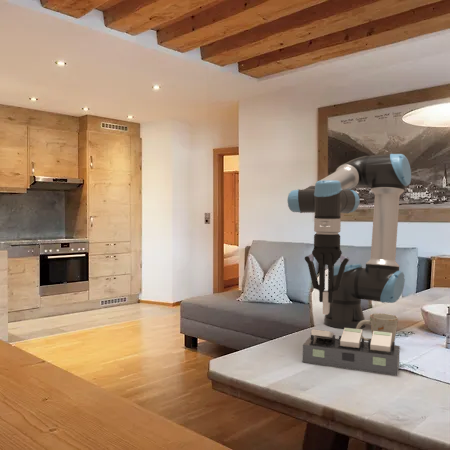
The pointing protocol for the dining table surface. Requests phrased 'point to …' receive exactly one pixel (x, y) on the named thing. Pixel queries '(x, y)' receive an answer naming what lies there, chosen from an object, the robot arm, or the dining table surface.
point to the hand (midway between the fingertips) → (325, 313)
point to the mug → (381, 324)
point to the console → (351, 355)
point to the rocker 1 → (322, 333)
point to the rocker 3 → (381, 341)
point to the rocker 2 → (351, 337)
